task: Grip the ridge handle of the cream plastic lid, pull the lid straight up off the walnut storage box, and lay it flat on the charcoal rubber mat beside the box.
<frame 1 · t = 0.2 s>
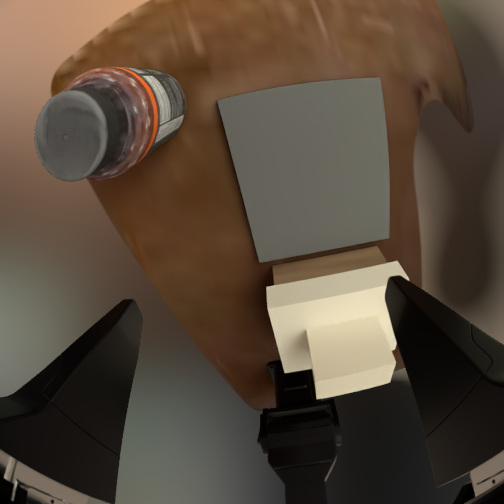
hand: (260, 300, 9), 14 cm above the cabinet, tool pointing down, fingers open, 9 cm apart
lid: (336, 313, 25), point 3 cm above the cabinet, touching storage box
storage box: (328, 288, 28), on the cabinet
mat: (316, 171, 21), on the cabinet
supplement bottle: (151, 107, 18), on the cabinet
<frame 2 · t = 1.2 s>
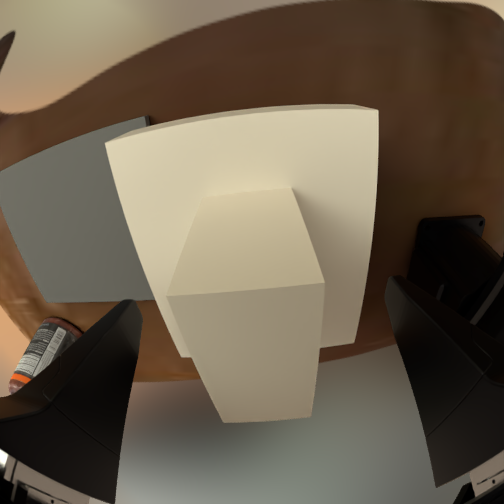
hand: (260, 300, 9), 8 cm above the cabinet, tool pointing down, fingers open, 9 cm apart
lid: (255, 233, 13), point 3 cm above the cabinet, touching storage box
mat: (78, 228, 17), on the cabinet
supplement bottle: (68, 334, 23), on the cabinet
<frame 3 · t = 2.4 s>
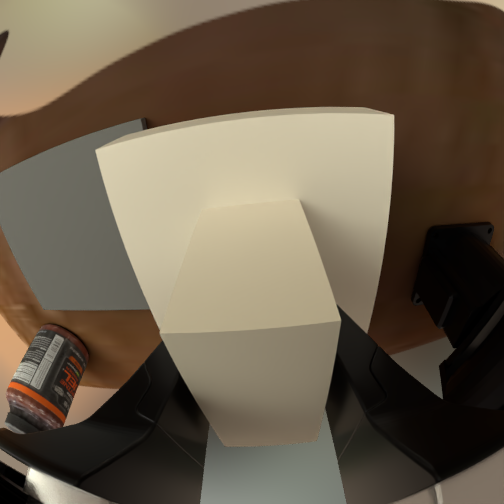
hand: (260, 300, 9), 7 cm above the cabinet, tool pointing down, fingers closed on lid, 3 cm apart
lid: (258, 245, 12), point 3 cm above the cabinet, touching gripper, storage box
mat: (74, 235, 16), on the cabinet
supplement bottle: (66, 340, 23), on the cabinet
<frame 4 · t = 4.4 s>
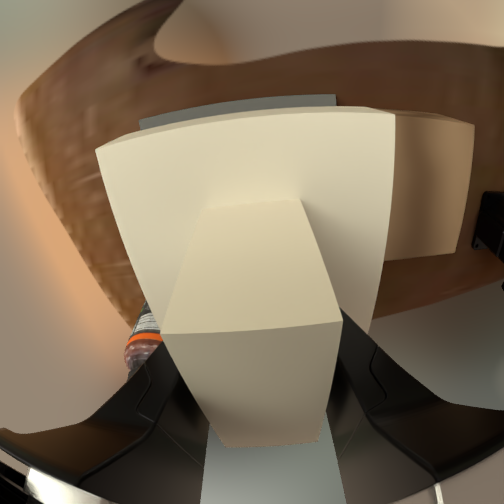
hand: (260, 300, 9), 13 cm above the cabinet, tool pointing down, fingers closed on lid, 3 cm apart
lid: (259, 245, 12), point 10 cm above the cabinet, touching gripper
storage box: (395, 170, 20), on the cabinet
mat: (245, 179, 21), on the cabinet
supplement bottle: (179, 296, 28), on the cabinet
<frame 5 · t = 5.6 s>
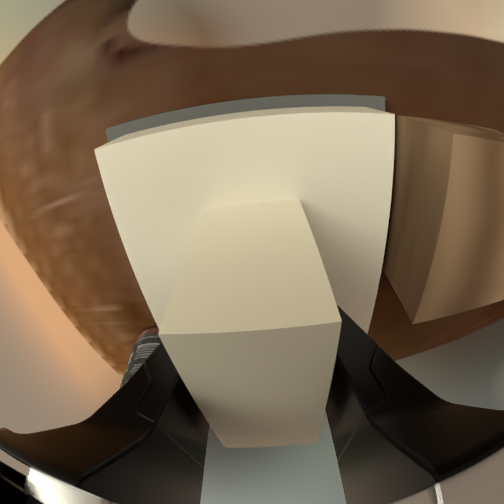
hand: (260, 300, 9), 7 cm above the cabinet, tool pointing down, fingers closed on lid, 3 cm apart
lid: (258, 245, 12), point 4 cm above the cabinet, touching gripper
storage box: (444, 198, 15), on the cabinet
mat: (255, 211, 15), on the cabinet
supplement bottle: (172, 345, 22), on the cabinet
when the fingers open (5 cm above the cabinet, at t = 6.6 s): lid drops 1 cm, resting on mat.
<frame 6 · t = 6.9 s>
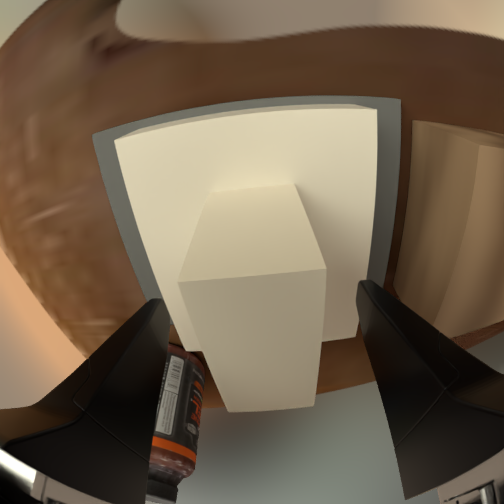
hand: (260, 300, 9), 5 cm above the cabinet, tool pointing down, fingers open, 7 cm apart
lid: (258, 229, 13), point 1 cm above the cabinet, touching mat
storage box: (458, 209, 13), on the cabinet
mat: (257, 224, 14), on the cabinet
supplement bottle: (169, 360, 21), on the cabinet
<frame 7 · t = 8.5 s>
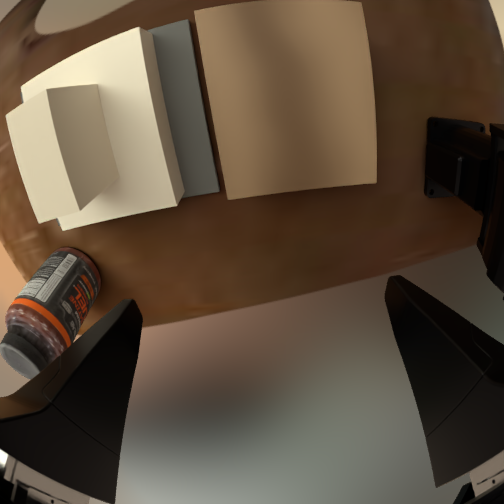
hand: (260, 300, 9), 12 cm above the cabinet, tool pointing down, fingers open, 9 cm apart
lid: (104, 130, 16), point 1 cm above the cabinet, touching mat
storage box: (282, 92, 16), on the cabinet
mat: (107, 129, 16), on the cabinet
supplement bottle: (77, 270, 23), on the cabinet
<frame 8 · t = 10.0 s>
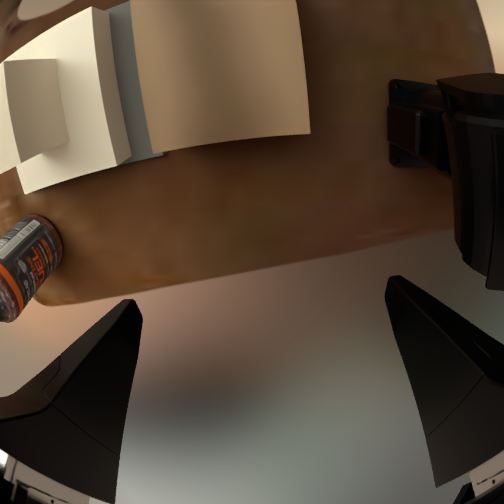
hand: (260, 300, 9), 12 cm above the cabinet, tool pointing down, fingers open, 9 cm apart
lid: (65, 101, 15), point 1 cm above the cabinet, touching mat
storage box: (225, 56, 15), on the cabinet
mat: (69, 101, 16), on the cabinet
supplement bottle: (43, 238, 22), on the cabinet
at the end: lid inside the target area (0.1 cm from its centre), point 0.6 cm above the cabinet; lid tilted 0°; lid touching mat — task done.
